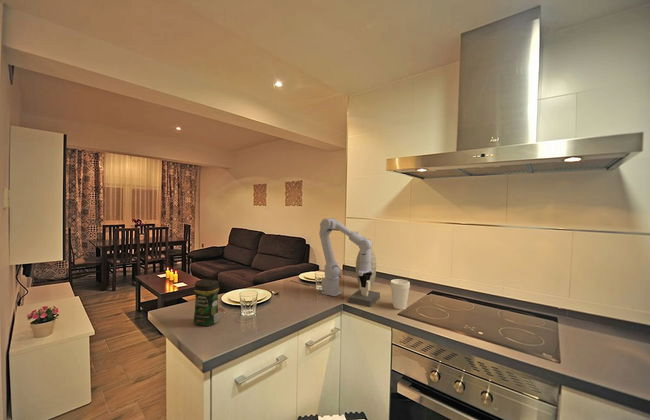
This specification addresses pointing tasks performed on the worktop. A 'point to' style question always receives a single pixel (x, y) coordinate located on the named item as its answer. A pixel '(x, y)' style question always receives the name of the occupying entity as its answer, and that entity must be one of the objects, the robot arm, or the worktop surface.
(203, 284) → the coffee jar
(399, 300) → the foam cup
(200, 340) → the worktop surface
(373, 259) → the vase
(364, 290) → the plug
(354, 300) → the socket block
